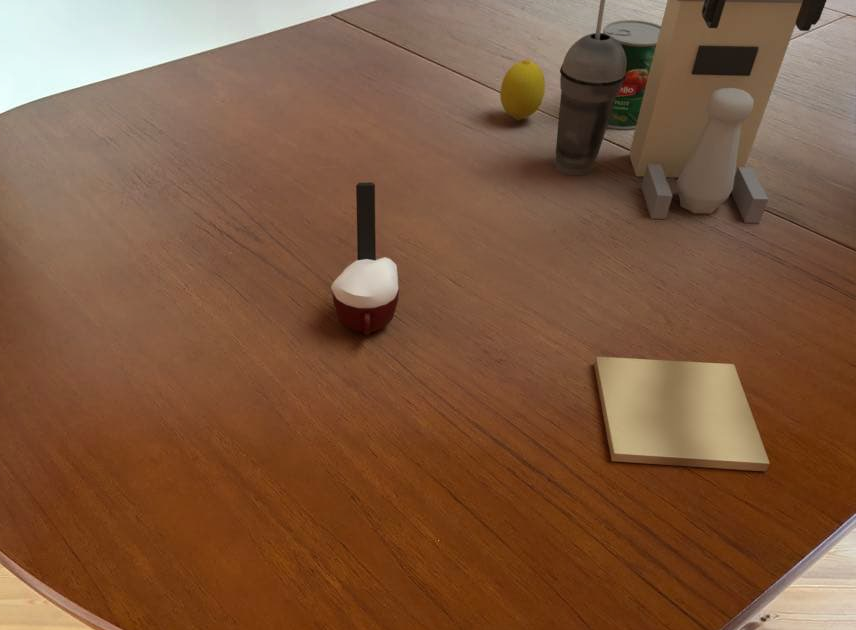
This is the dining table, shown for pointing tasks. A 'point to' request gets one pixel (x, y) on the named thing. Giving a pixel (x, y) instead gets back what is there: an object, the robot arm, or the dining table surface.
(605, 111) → the beverage cup
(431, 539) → the dining table surface
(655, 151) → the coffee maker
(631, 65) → the canned tomato
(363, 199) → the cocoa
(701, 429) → the plate
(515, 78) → the lemon
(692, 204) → the salt shaker
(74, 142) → the dining table surface
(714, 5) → the robot arm
